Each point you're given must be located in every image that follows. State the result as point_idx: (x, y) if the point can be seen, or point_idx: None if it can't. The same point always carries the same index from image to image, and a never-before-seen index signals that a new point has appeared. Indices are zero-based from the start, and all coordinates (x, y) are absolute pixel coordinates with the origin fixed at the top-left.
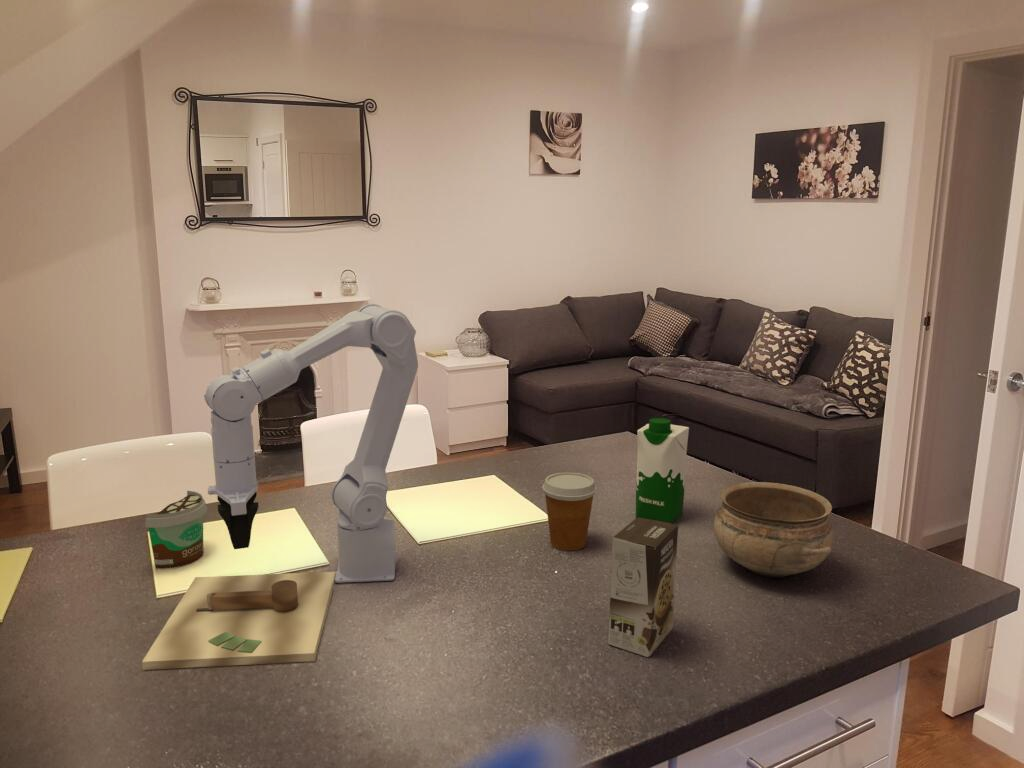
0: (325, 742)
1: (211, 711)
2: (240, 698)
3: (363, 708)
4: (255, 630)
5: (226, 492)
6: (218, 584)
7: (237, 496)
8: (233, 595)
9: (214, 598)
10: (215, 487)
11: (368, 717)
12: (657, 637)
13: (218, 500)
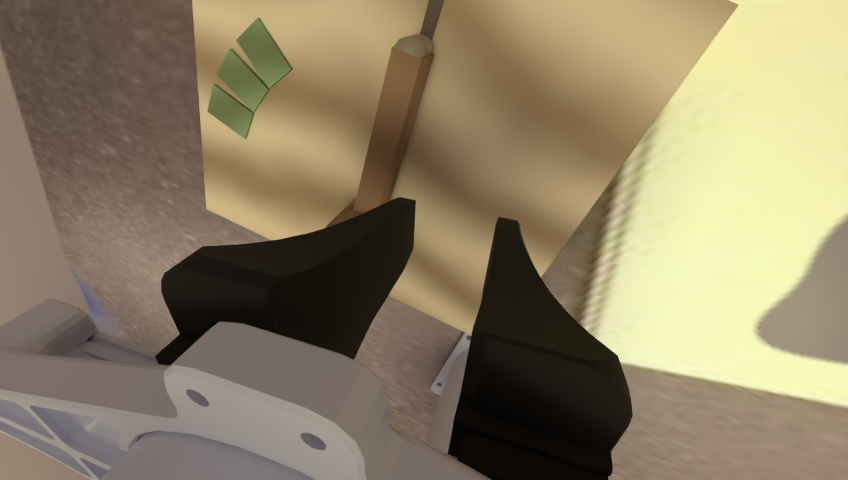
0: (56, 156)
1: (81, 3)
2: (120, 63)
3: (121, 217)
4: (291, 136)
5: (124, 443)
6: (597, 89)
7: (53, 443)
8: (380, 121)
9: (389, 61)
10: (281, 460)
11: (106, 215)
12: None
13: (474, 328)
